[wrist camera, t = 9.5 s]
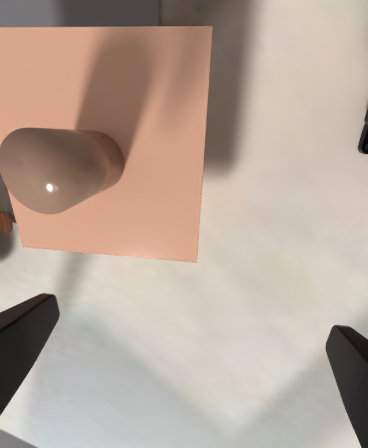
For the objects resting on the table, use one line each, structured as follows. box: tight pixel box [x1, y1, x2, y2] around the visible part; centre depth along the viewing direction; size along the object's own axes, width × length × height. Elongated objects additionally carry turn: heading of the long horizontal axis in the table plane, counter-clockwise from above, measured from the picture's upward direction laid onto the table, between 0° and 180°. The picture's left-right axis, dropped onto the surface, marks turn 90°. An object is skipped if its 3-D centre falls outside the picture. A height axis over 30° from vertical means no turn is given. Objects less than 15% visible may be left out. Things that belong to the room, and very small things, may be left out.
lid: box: [0, 26, 212, 263], centre depth 11 cm, size 12×12×5 cm
